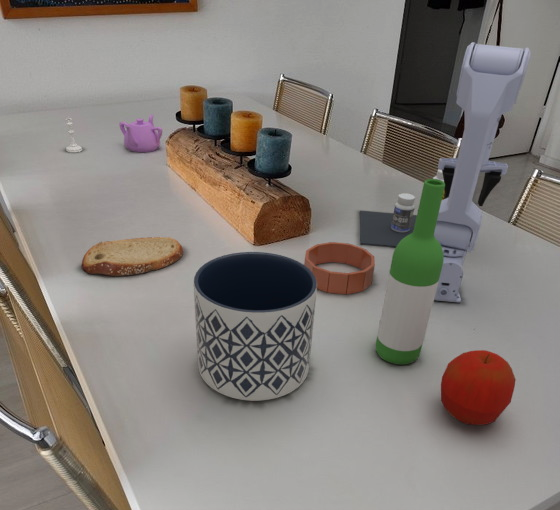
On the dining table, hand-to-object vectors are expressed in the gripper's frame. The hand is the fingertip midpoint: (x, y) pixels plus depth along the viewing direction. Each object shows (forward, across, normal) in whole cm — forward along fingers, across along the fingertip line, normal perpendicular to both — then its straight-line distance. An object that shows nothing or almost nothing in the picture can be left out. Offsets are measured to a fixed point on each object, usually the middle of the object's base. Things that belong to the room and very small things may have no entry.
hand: (462, 203), depth 124 cm
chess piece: (+11, +113, -47) cm, 123 cm away
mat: (+10, +12, -6) cm, 17 cm away
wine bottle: (+11, +16, +47) cm, 51 cm away
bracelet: (+10, +27, +21) cm, 36 cm away
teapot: (+11, +93, -55) cm, 109 cm away
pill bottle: (+10, +12, -6) cm, 17 cm away
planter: (+11, +40, +55) cm, 69 cm away
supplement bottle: (+11, +1, -23) cm, 25 cm away
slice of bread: (+11, +71, +22) cm, 75 cm away
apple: (+11, +6, +61) cm, 62 cm away
